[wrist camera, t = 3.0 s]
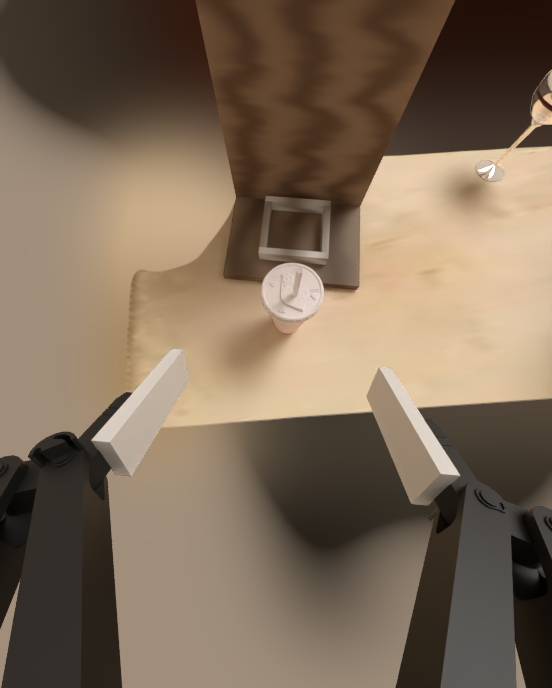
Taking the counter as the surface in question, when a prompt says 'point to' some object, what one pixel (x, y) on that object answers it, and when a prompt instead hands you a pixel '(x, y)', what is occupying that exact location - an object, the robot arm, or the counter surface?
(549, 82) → the wineglass
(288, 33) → the overhang shelf
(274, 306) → the smoothie
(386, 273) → the counter surface
